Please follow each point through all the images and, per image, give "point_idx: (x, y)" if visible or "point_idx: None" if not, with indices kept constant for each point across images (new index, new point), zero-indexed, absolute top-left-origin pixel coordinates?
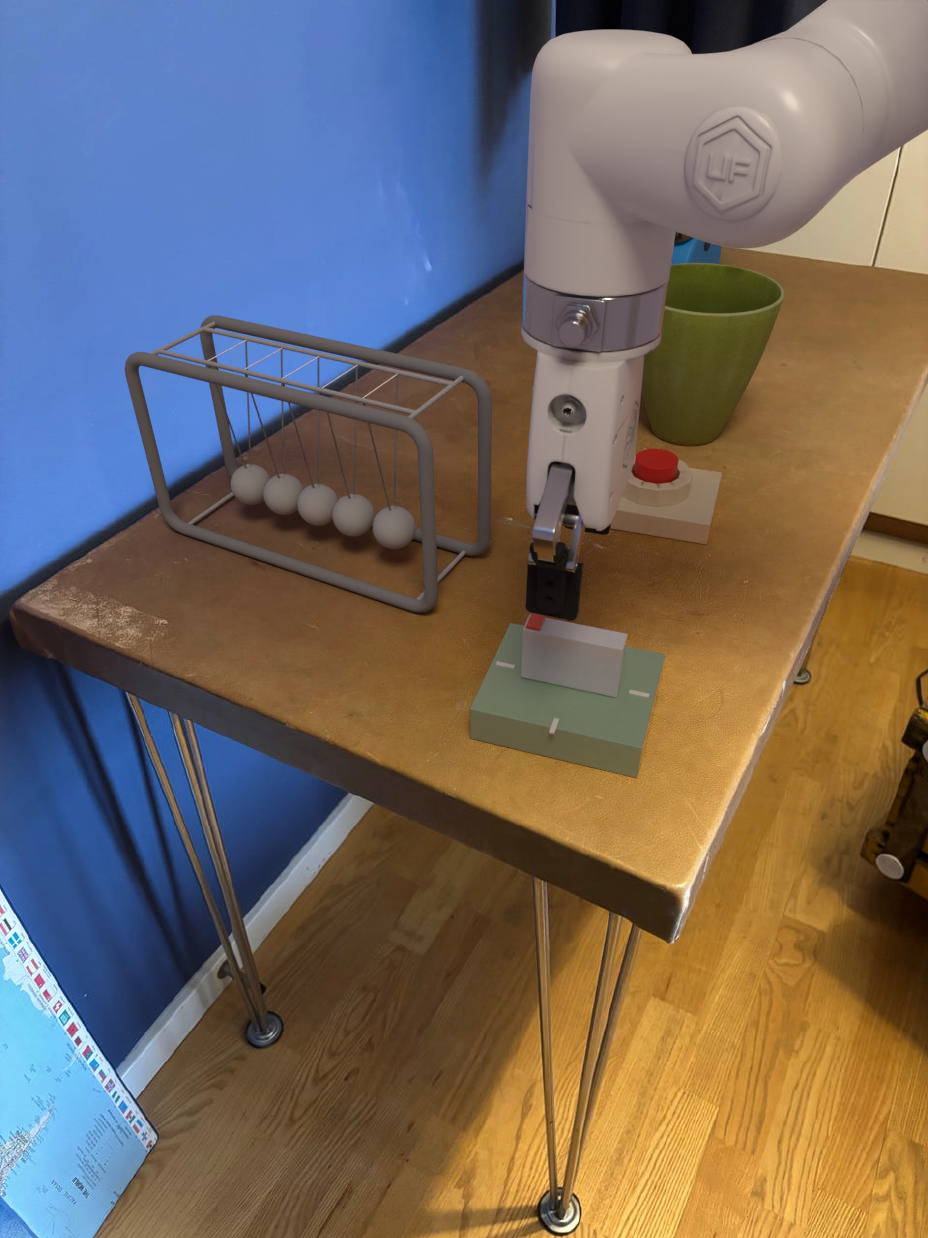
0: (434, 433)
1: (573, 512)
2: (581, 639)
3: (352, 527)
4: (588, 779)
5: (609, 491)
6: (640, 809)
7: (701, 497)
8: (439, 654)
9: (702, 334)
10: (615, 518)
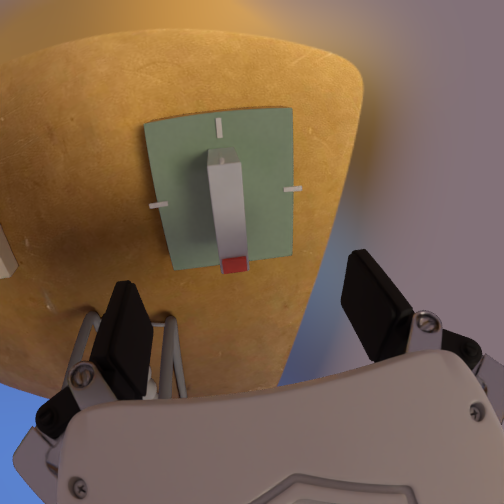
0: (30, 363)
1: (146, 344)
2: (241, 212)
3: (153, 384)
4: (295, 142)
5: (493, 422)
6: (312, 97)
7: None
8: (206, 290)
9: None
10: (2, 246)
